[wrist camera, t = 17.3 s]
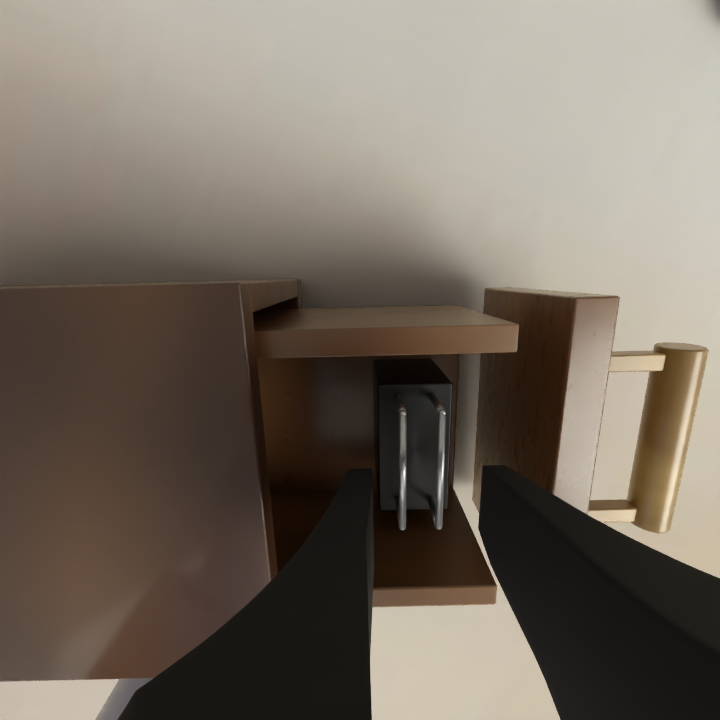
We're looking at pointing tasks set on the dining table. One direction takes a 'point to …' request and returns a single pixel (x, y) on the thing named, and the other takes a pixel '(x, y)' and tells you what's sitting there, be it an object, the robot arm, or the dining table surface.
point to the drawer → (494, 421)
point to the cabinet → (129, 472)
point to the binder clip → (412, 436)
